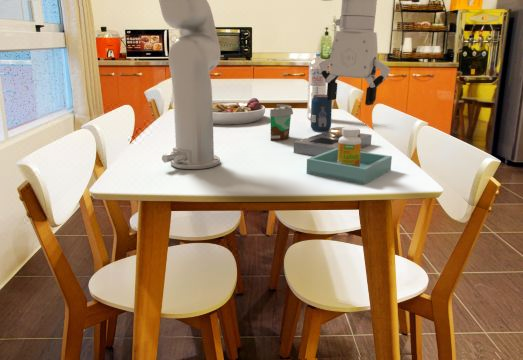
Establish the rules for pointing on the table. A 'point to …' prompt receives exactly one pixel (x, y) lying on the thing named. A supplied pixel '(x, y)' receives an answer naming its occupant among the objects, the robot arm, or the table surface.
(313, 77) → the water bottle
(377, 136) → the table surface
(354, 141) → the supplement bottle
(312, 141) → the bracket
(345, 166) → the tray
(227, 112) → the bowl
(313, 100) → the soda can
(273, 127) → the food container
